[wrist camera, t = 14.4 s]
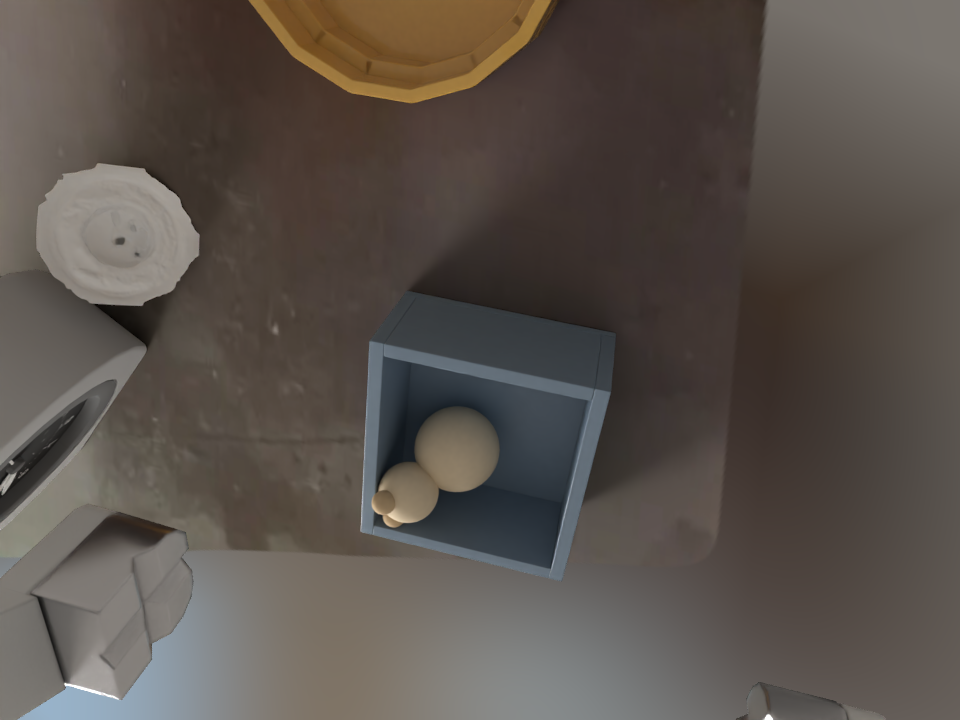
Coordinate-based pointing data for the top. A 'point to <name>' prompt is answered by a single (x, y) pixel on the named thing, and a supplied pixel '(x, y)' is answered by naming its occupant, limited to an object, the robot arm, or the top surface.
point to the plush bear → (438, 465)
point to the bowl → (405, 41)
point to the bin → (510, 409)
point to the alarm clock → (52, 380)
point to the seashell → (115, 235)
